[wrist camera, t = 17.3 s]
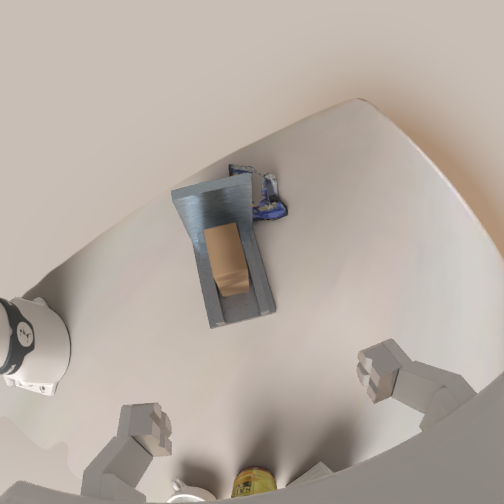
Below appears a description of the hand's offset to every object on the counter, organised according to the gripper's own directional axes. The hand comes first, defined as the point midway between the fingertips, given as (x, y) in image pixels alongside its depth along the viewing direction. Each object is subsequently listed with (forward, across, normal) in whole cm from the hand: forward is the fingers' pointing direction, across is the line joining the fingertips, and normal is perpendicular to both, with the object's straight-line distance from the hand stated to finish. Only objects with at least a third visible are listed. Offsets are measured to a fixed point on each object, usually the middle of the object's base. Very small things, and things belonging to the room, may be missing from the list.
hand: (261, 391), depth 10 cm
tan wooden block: (+32, 0, +11) cm, 34 cm away
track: (+32, 0, +12) cm, 34 cm away
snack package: (+42, -7, +3) cm, 43 cm away
